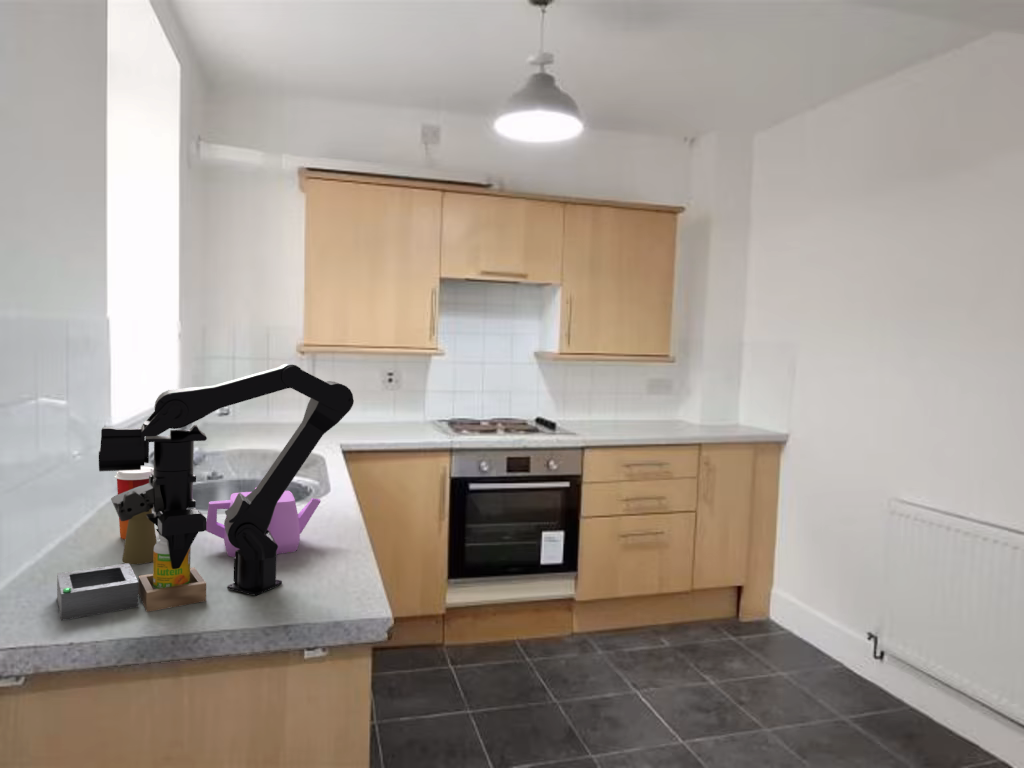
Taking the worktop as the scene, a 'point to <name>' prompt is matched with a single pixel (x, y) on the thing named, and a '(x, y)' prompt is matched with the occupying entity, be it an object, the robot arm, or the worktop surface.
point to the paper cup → (131, 487)
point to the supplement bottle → (168, 567)
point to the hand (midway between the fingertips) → (172, 563)
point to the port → (96, 591)
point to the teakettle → (281, 527)
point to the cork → (139, 540)
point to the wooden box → (171, 592)
